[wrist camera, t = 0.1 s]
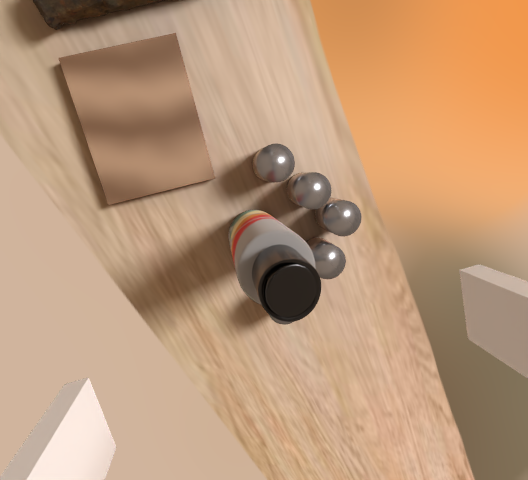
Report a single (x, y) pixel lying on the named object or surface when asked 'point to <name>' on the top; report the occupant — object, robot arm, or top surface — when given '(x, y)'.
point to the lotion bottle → (274, 266)
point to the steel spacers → (311, 206)
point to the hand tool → (81, 9)
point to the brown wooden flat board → (138, 117)
